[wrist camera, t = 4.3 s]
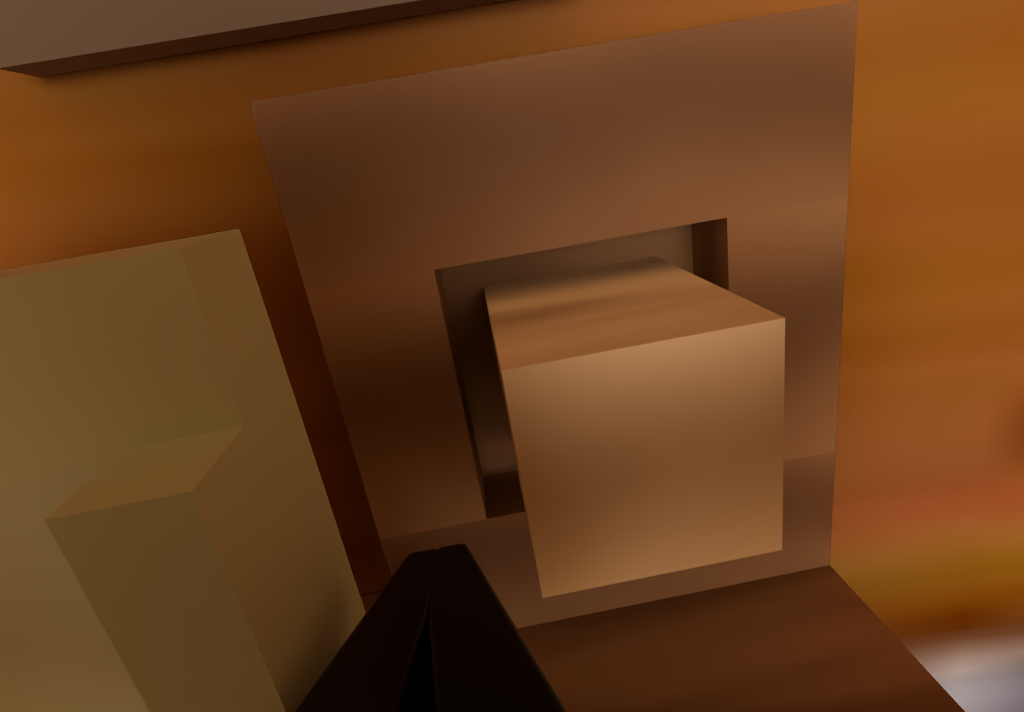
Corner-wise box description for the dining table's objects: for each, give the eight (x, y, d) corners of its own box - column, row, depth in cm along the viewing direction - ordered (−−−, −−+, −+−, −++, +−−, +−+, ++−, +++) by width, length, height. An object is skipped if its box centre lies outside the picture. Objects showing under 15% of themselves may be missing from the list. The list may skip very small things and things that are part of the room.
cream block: (665, 411, 16) (782, 550, 10) (511, 440, 16) (542, 598, 10) (654, 255, 14) (785, 317, 9) (483, 286, 14) (501, 371, 8)
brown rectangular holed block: (780, 549, 18) (1052, 876, 10) (29, 700, 18) (-366, 1196, 9) (786, 29, 13) (1380, -210, 5) (-292, 209, 12) (-1935, 314, 4)
